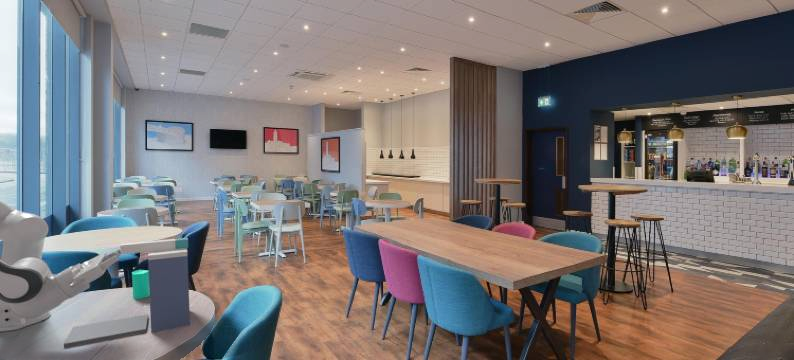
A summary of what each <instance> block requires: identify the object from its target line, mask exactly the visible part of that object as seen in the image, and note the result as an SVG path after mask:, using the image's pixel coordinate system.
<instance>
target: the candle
mask: <svg viewBox="0 0 794 360" xmlns="http://www.w3.org/2000/svg"><path fill="white" fill-rule="evenodd" d="M131 280H132V281H131V282H132V299H134V300H141V299H146V298H148V297H150V291H149V269H148V270H144V269H137V270H134V271H132V272H131Z"/></svg>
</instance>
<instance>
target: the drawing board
mask: <svg viewBox="0 0 794 360" xmlns="http://www.w3.org/2000/svg"><path fill="white" fill-rule="evenodd" d="M148 319H149V315H148V314H142V315H135V316H129V317H124V318H118V319H113V320H112V319H111V320H106V321H100V322H93V323H88V324H83V325H76V326H72V328H71V330H70V332H69V333H68V335H67V336H66V339H65V341H64V342H63V348H69V347H74V346H75V347H76V346H81V345H86V344H91V343H96V342H101V341H106V340H111V339H112V340H113V339H118V338H122V337H124V338H125V337H129V336H134V335H139V334H144V333H147V330H148V329H147V328H148V321H149V320H148Z"/></svg>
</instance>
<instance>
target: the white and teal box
mask: <svg viewBox="0 0 794 360" xmlns="http://www.w3.org/2000/svg"><path fill="white" fill-rule="evenodd" d="M119 247H120V248H119V250H121V255H126V254H127V255H129V254H130V255H131V254H138V253H146V252H147V253H149V251H159V250H169V249H180V248H187V249H188V248H189V238H188V237H182V238H181V237H180V238H171V239H160V240H159V239H158V240H147V241H137V242H128V243H127V242H126V243H121V244H120V245H119Z"/></svg>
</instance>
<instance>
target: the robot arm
mask: <svg viewBox="0 0 794 360" xmlns="http://www.w3.org/2000/svg"><path fill="white" fill-rule="evenodd" d="M48 234H49V225H48V223H47V222H46V221H45V219H43V218H42V217H40V216H39V215H38V214H35V213H29V212H25V211H20V210H19V209H16V208H14V207H12V206H10V205H8V204H6V203H4V202H2V201H0V241H2V242H3V243H2V245H3V246H2V251H1V255H0V256H1V257H0V332H10V331H17V330H20V329H22V328H25V327H27V326H30V325H33V324H37V323H39V322H42V321H43V320H46V319H48V318H49V317H51V314H52V313H51V312H50V311H52V310H54V309H57V308H58V307H60V306H61V304H63V303H64V302H65V301H67V300H69V299H72V298H74V297H76V296H78V295H79V294H81V293H83V292H85V291H86V290H87V289H90V287H91V283H92V282H94V281H95V280H97V279H99V278H101V277H102V276H103V275H104V273H105V272H106V271H107V269H108V268H110V267H111V266H112V265H113V264H115V263H116V262H118V261H119V257H120V256H121V255H122V254H121V249H117V250H115V251H113V252H110V253H108V254H107V253H105V252H104V253H101V254H98V255H96V256H94V257H92V258H91V259H89V260H86V261H84V262H82V263H77V264H75V265H71V266H69V267H68V268H65V269H64V270H62V271H61V272H59V273H56V274H55V275H54V274H53V272H52V270H51V269H50V267H49V265H48V264H47V262H46V261H44V259H42V258H43V257H42V255H43V250H44V245H45V239H46V237H47V235H48Z"/></svg>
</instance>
